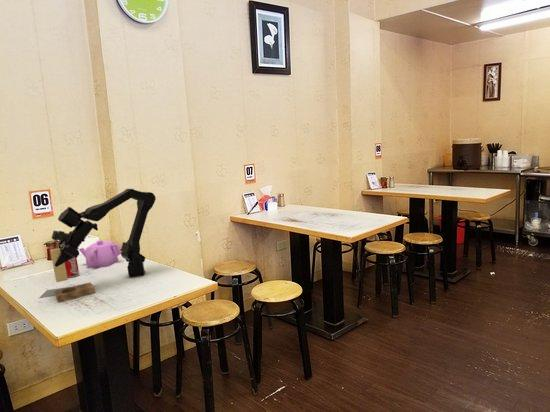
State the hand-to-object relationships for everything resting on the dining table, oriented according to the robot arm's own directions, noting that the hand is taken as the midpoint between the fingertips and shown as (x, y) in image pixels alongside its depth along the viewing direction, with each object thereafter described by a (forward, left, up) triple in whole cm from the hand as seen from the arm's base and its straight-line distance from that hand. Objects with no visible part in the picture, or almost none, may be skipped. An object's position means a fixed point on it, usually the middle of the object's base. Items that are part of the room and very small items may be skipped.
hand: (55, 265), depth 170 cm
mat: (+3, -5, -13) cm, 15 cm away
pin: (-1, -1, -7) cm, 7 cm away
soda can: (+3, -28, -14) cm, 32 cm away
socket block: (-7, +2, -13) cm, 15 cm away
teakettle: (-7, -46, -14) cm, 49 cm away
